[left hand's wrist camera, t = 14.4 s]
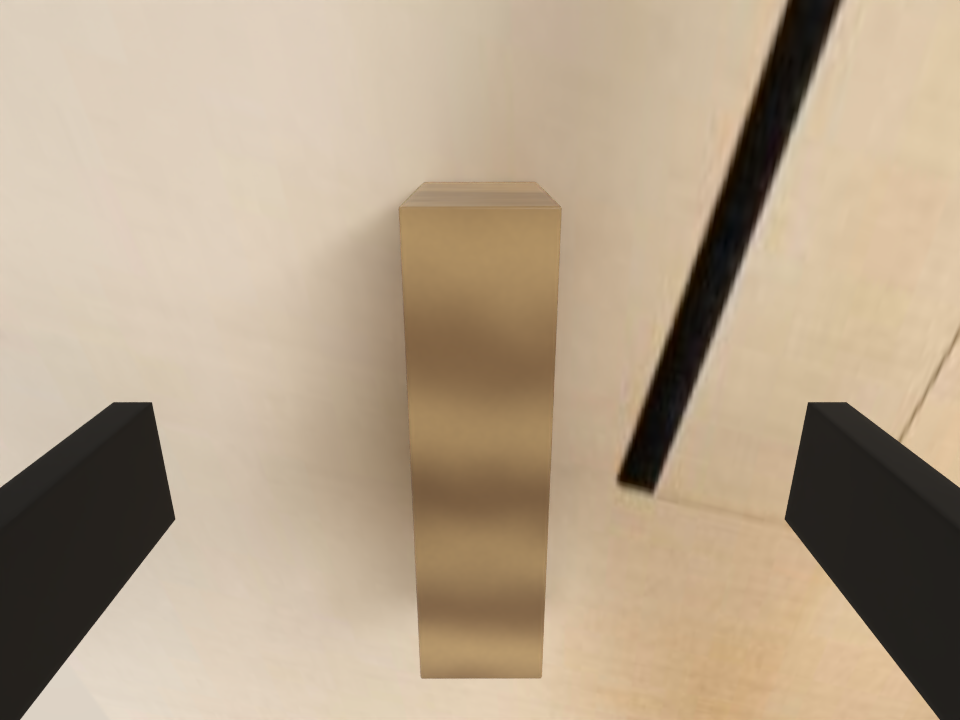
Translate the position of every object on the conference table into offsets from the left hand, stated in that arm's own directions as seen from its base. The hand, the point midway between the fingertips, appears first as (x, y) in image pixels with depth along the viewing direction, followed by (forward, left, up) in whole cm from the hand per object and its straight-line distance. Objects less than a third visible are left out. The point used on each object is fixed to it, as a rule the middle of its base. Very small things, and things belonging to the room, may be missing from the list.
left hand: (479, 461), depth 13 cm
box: (+6, -5, -22) cm, 23 cm away
